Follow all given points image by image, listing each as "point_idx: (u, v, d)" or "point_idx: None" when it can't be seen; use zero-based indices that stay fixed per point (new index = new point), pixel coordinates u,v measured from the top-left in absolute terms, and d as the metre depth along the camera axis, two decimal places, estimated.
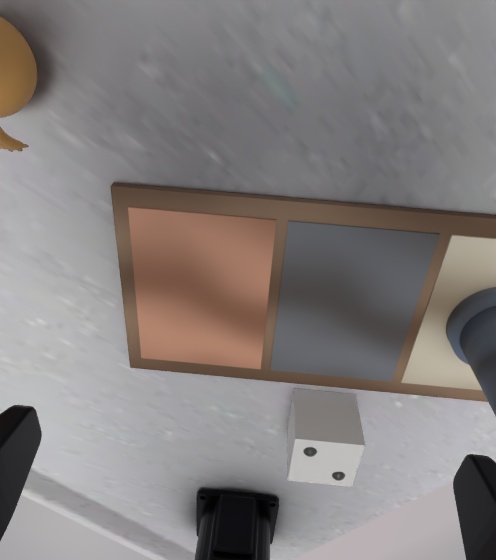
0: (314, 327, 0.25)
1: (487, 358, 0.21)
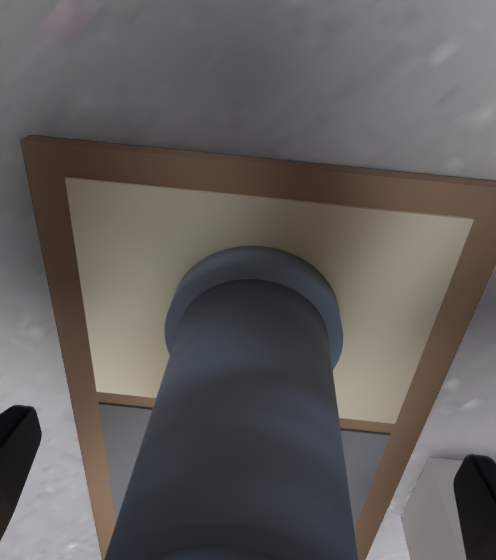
0: None
1: None
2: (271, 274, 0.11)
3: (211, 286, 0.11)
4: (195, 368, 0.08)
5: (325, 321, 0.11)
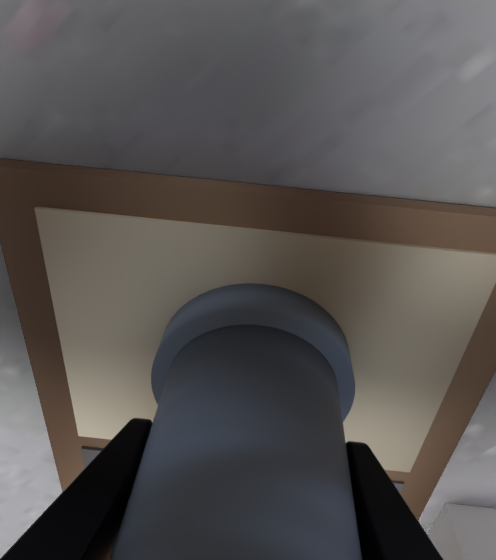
0: None
1: None
2: (273, 320, 0.09)
3: (203, 332, 0.10)
4: (180, 447, 0.07)
5: (335, 370, 0.10)
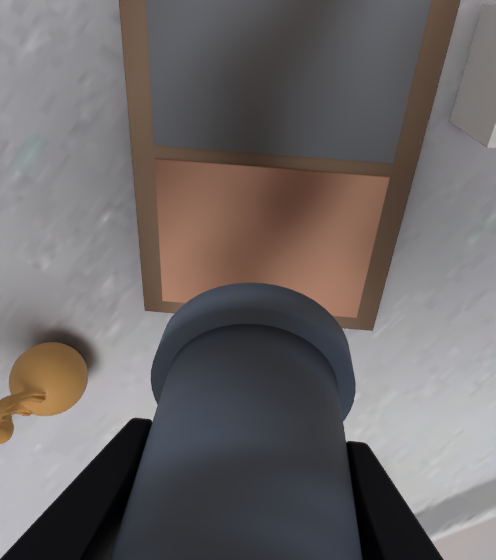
0: (315, 100, 0.17)
1: None
2: (273, 319, 0.09)
3: (203, 331, 0.10)
4: (180, 446, 0.07)
5: (335, 370, 0.10)
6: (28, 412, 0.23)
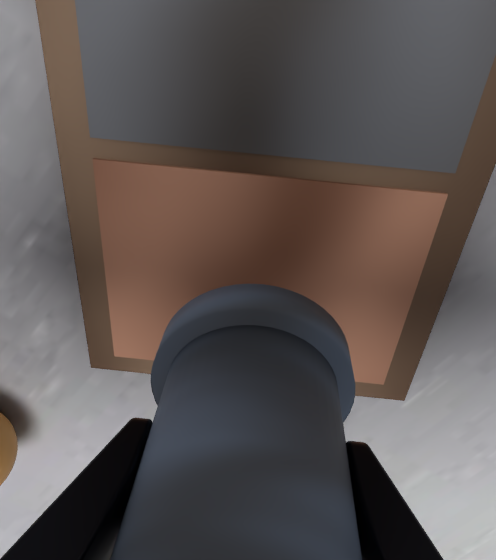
0: (341, 71, 0.11)
1: None
2: (273, 320, 0.09)
3: (203, 332, 0.10)
4: (181, 448, 0.07)
5: (335, 371, 0.10)
6: None
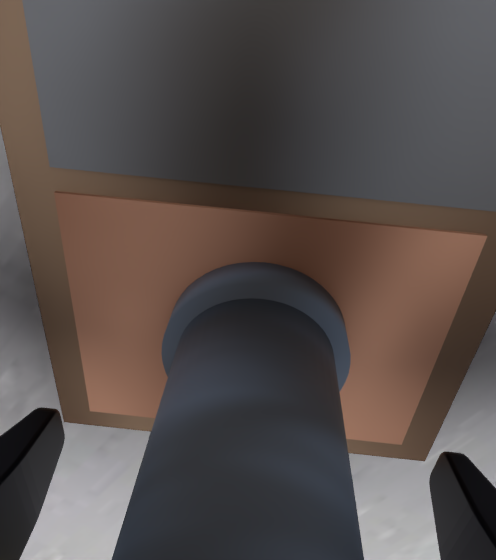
0: (359, 88, 0.09)
1: None
2: (275, 293, 0.10)
3: (211, 305, 0.10)
4: (193, 400, 0.08)
5: (332, 342, 0.11)
6: None
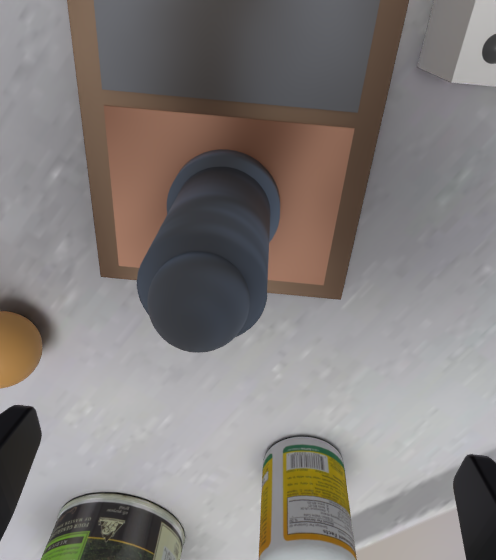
0: (273, 40, 0.16)
1: None
2: (232, 163, 0.17)
3: (195, 172, 0.18)
4: (184, 199, 0.15)
5: (267, 196, 0.18)
6: None
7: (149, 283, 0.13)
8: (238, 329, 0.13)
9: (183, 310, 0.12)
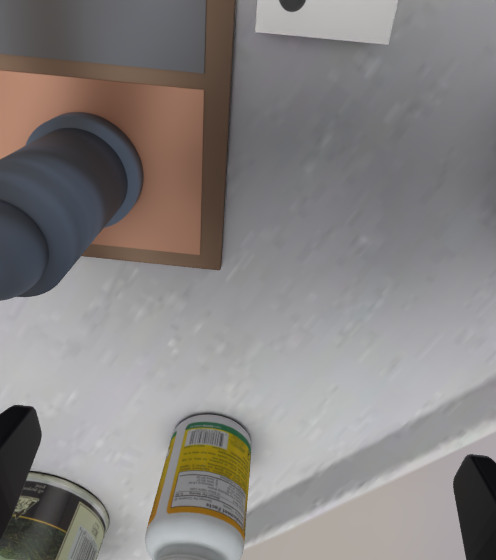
0: None
1: None
2: (80, 124, 0.17)
3: (46, 134, 0.18)
4: None
5: (121, 158, 0.18)
6: None
7: None
8: (24, 277, 0.12)
9: None
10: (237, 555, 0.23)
